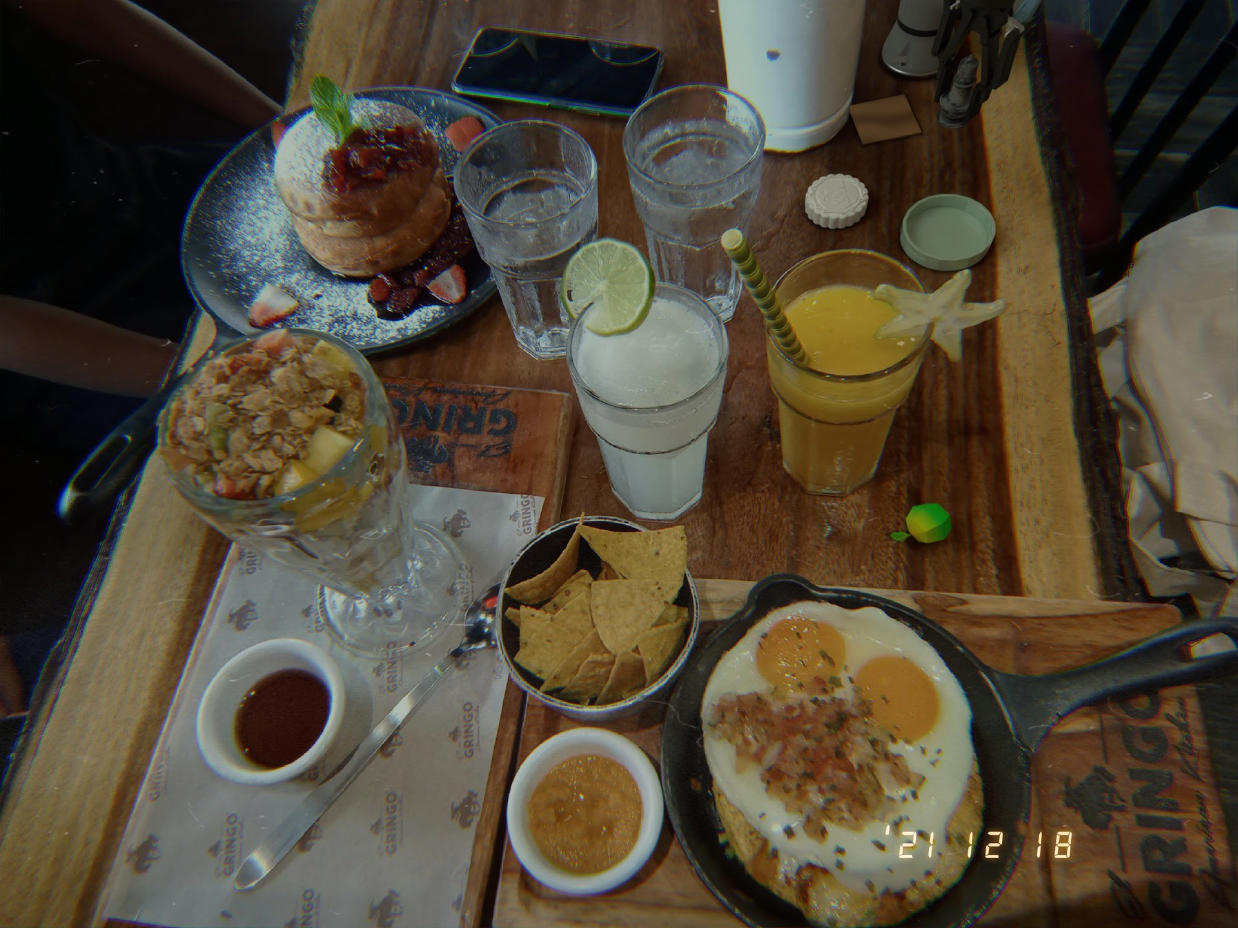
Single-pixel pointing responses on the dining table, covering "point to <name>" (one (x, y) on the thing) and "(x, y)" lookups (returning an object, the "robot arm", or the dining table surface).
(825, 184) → the mooncake
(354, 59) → the dining table surface
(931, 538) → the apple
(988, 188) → the dining table surface
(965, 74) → the grey chess piece
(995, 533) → the dining table surface
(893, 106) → the coaster
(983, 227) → the green round tray
